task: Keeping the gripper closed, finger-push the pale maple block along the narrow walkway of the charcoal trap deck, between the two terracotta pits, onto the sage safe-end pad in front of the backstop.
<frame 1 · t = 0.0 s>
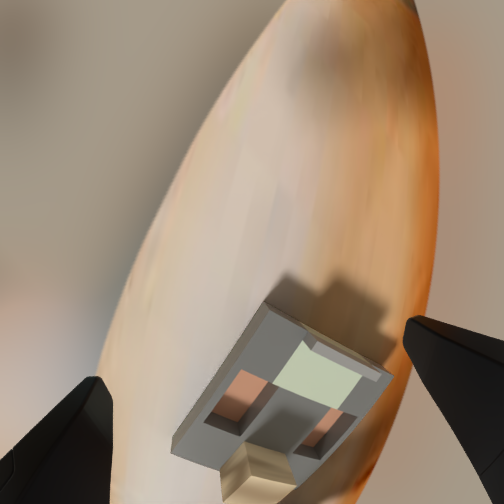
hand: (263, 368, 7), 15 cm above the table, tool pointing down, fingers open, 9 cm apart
maple block: (252, 462, 22), point 2 cm above the table, touching trap deck
trap deck: (280, 408, 24), on the table
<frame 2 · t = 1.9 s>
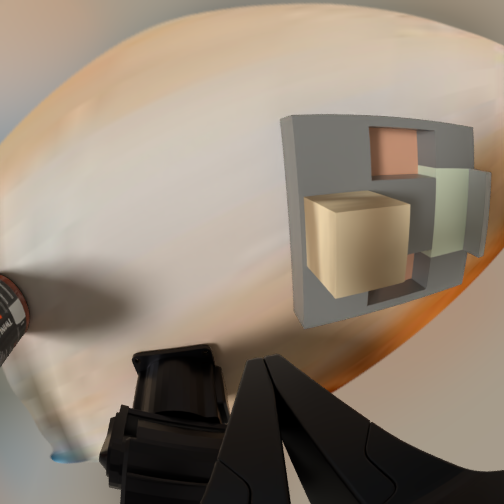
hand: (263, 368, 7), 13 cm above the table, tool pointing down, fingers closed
maple block: (338, 227, 18), point 2 cm above the table, touching trap deck
supplement bottle: (6, 302, 18), on the table
trap deck: (386, 210, 21), on the table
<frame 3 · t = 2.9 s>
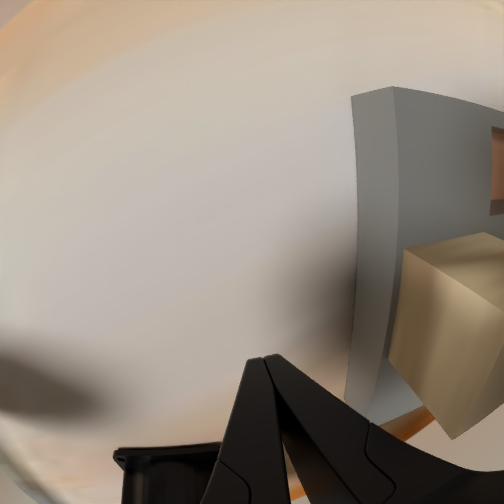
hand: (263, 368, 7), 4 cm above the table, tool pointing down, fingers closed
maple block: (441, 295, 9), point 2 cm above the table, touching trap deck
trap deck: (478, 250, 12), on the table
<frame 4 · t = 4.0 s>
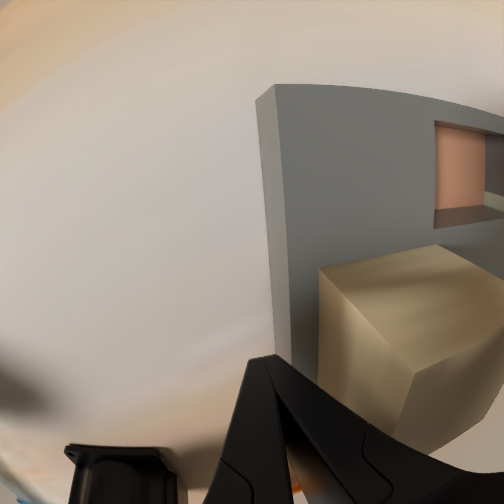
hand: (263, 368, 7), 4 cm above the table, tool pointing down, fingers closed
maple block: (379, 317, 9), point 3 cm above the table, touching gripper, trap deck
trap deck: (436, 265, 12), on the table
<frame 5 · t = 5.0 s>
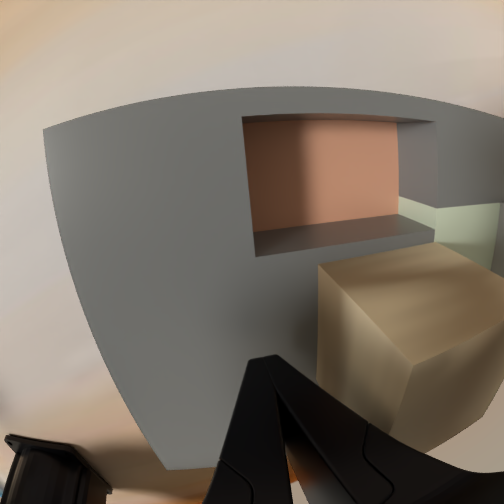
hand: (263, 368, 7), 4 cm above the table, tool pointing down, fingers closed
maple block: (378, 314, 9), point 2 cm above the table, touching gripper, trap deck
trap deck: (326, 290, 11), on the table
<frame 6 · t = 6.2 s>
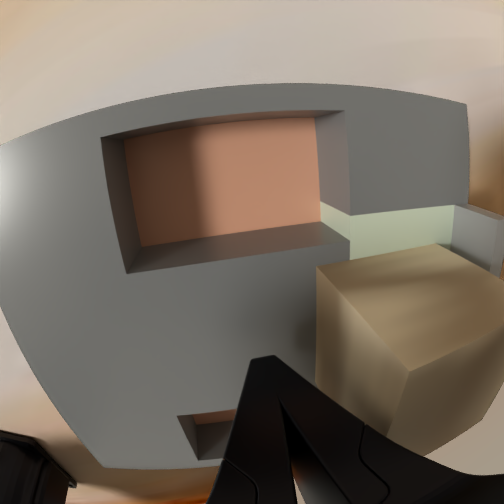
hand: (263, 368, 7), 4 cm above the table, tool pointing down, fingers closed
maple block: (378, 316, 9), point 2 cm above the table, touching gripper, trap deck
trap deck: (241, 304, 11), on the table
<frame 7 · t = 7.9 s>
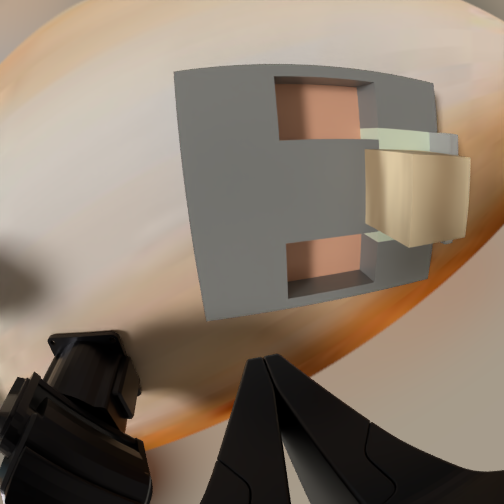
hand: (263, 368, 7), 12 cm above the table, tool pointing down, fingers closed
maple block: (395, 185, 16), point 2 cm above the table, touching trap deck
trap deck: (318, 183, 18), on the table
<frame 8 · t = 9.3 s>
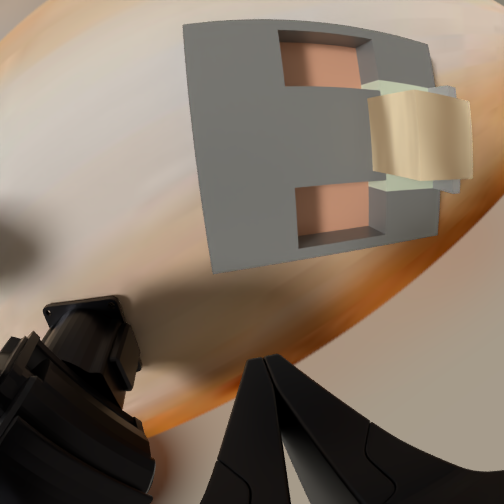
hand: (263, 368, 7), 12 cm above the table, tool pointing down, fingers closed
maple block: (399, 135, 16), point 2 cm above the table, touching trap deck
trap deck: (323, 135, 17), on the table
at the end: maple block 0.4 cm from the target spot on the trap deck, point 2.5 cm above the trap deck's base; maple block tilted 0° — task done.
